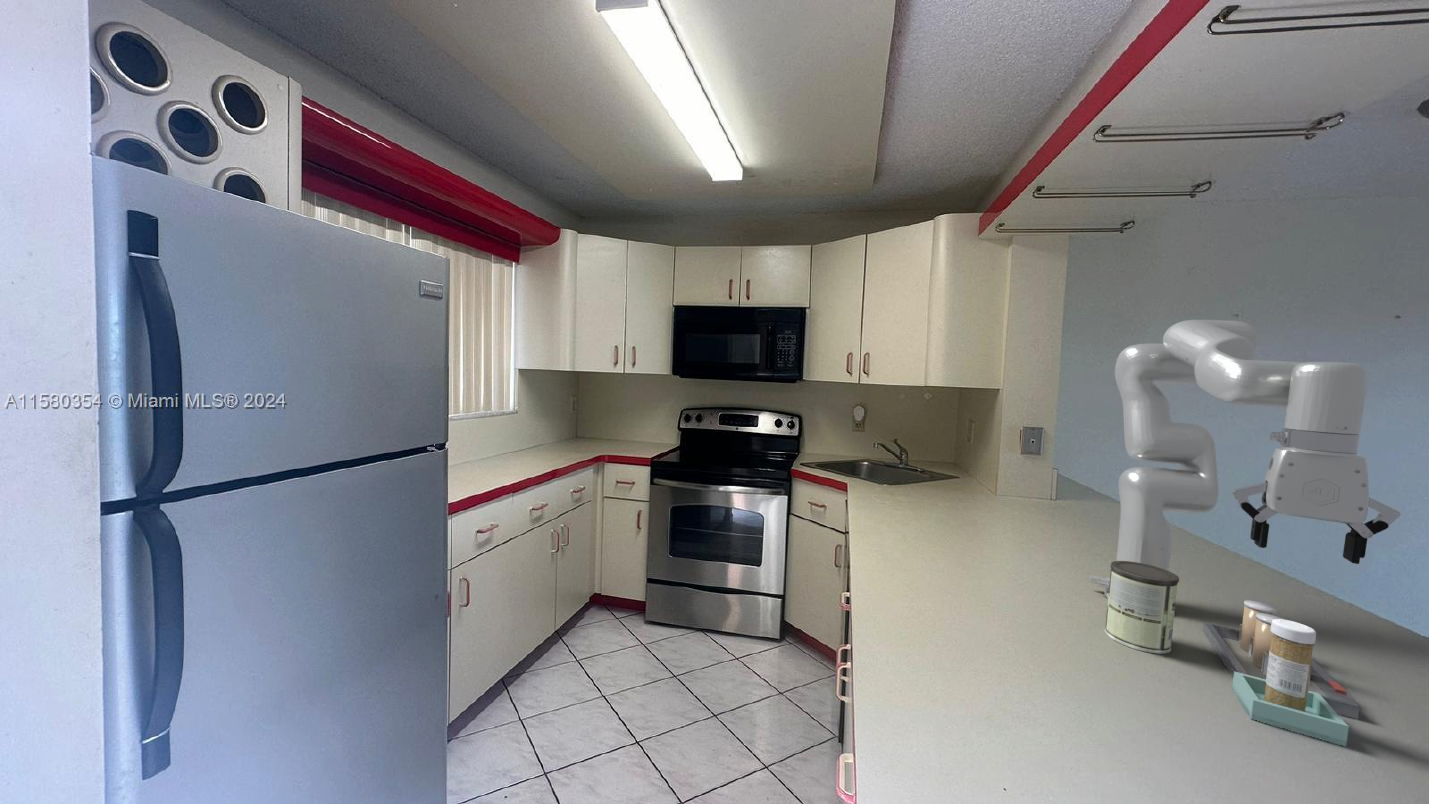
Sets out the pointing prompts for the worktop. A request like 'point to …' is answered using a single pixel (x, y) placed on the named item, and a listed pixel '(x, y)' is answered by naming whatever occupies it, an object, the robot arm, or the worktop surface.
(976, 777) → the worktop surface
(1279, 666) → the sprinkles bottle
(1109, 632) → the coffee can
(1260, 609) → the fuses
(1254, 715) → the tray
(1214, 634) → the frame
